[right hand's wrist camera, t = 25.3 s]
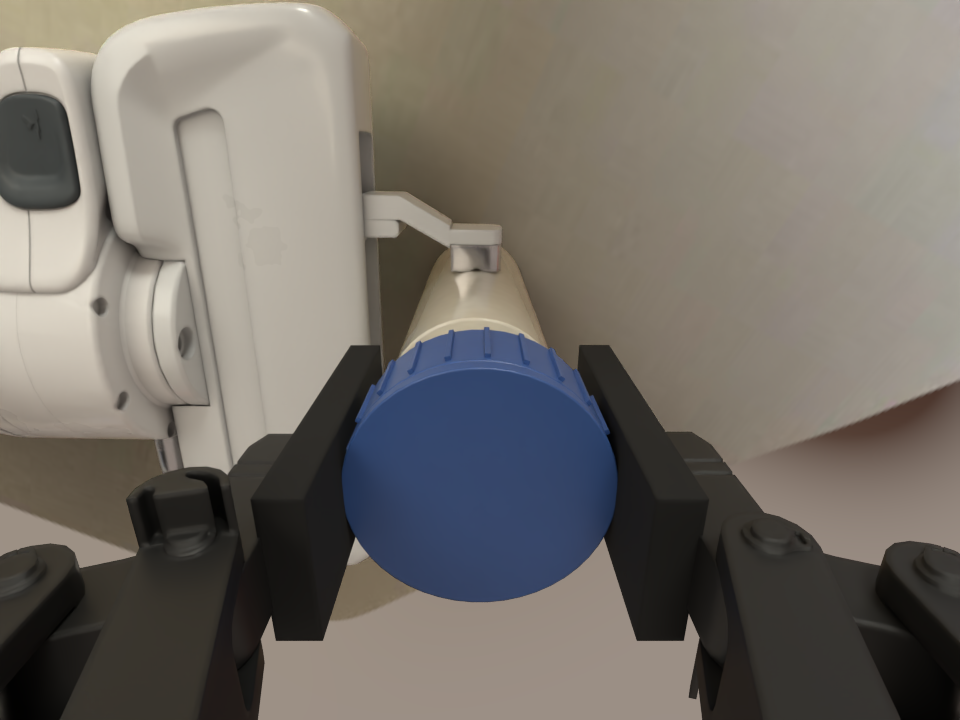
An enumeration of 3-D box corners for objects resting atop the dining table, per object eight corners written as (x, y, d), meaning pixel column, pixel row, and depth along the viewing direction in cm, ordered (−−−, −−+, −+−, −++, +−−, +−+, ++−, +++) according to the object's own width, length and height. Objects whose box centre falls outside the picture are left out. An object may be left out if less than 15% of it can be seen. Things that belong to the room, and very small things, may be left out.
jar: (448, 224, 26) (413, 312, 12) (536, 259, 26) (607, 385, 12) (416, 311, 27) (350, 484, 13) (500, 343, 28) (526, 540, 14)
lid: (396, 290, 11) (377, 323, 9) (639, 369, 11) (672, 415, 9) (335, 501, 13) (308, 566, 11) (548, 559, 13) (559, 632, 11)
